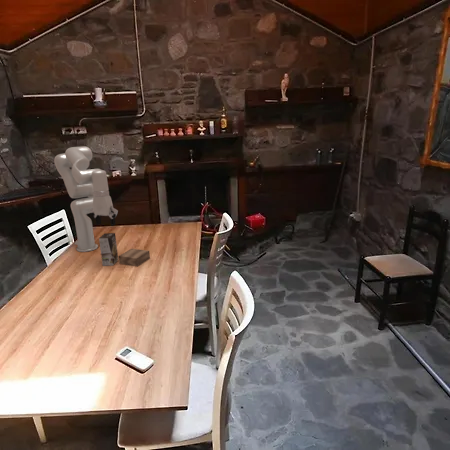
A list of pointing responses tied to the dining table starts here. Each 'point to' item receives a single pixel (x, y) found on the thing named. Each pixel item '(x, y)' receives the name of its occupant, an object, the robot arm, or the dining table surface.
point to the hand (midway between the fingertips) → (106, 224)
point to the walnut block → (134, 257)
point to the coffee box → (108, 249)
